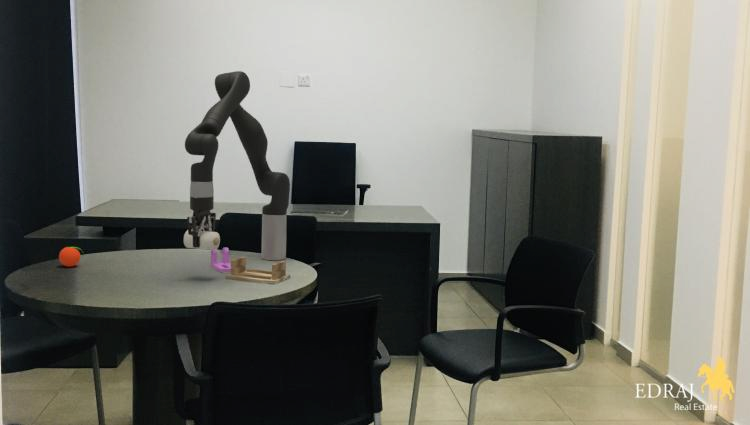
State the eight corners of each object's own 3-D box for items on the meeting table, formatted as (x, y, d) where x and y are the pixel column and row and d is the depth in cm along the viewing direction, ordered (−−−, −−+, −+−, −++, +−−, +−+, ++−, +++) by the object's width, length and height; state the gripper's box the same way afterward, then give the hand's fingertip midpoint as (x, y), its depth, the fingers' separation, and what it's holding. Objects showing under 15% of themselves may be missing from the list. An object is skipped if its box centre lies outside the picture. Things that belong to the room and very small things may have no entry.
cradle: (243, 272, 265) (243, 255, 264) (290, 277, 259) (290, 260, 258) (225, 278, 254) (225, 260, 253) (274, 284, 248) (274, 266, 247)
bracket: (210, 266, 274) (210, 247, 273) (225, 265, 277) (226, 246, 276) (220, 273, 263) (221, 253, 262) (236, 272, 265) (236, 252, 264)
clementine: (84, 264, 269) (84, 244, 268) (83, 268, 262) (83, 247, 261) (59, 264, 266) (59, 244, 265) (58, 268, 260) (57, 248, 259)
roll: (182, 248, 250) (181, 230, 249) (192, 246, 256) (192, 228, 255) (211, 251, 246) (211, 233, 246) (221, 248, 252) (221, 230, 251)
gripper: (203, 192, 257) (203, 241, 259) (179, 196, 243) (179, 248, 245) (223, 193, 254) (223, 243, 256) (199, 197, 241) (199, 250, 243)
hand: (201, 245), depth 251 cm, fingers closed on roll, 6 cm apart
